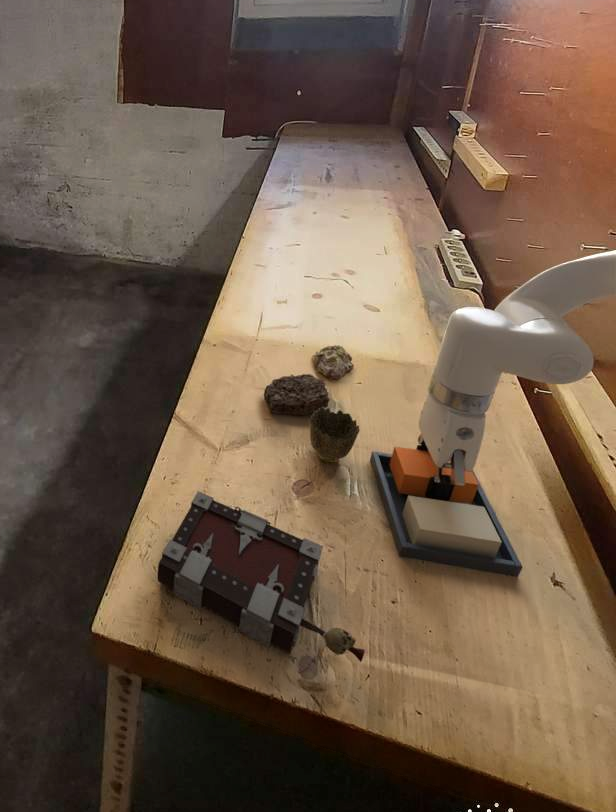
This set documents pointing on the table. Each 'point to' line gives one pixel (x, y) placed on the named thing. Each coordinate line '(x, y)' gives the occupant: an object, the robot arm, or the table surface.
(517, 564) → the tray
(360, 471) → the table surface
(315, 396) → the dark brown rough stone
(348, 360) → the mineral rock
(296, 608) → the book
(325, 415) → the cup
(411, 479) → the orange rectangular block
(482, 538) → the beige block
